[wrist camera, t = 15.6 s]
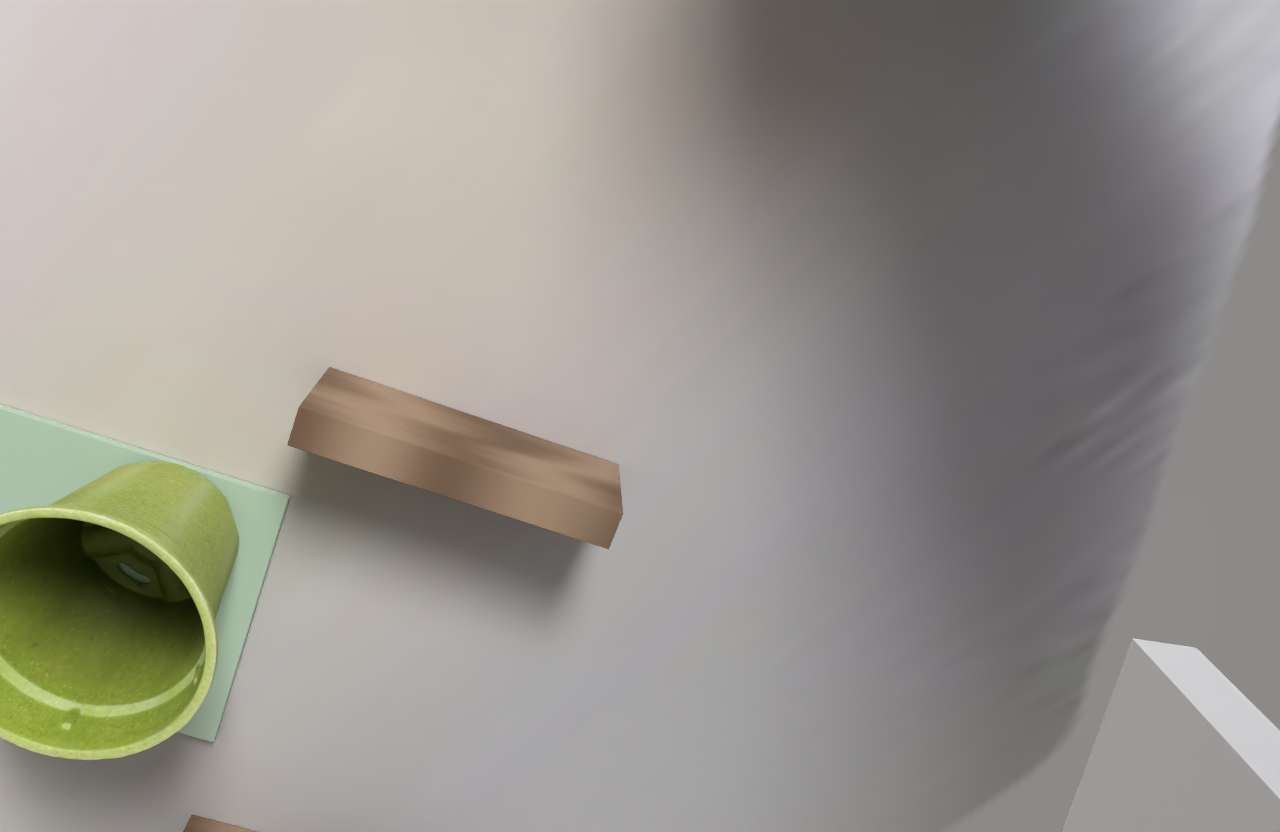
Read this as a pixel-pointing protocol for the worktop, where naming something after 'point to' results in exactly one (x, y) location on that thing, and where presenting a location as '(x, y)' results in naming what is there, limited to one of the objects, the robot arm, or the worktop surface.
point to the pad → (64, 462)
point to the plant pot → (112, 611)
